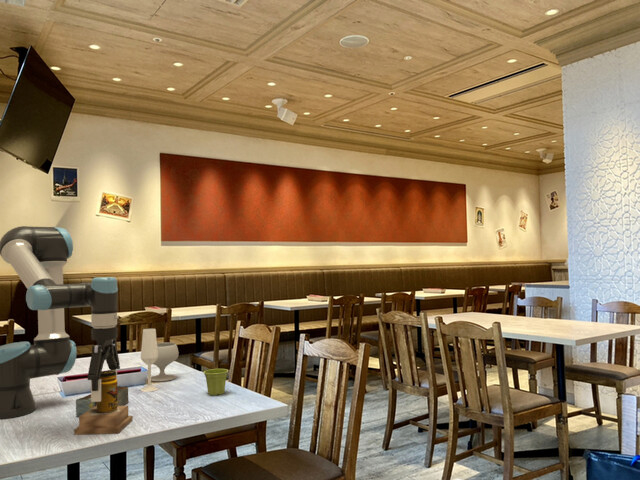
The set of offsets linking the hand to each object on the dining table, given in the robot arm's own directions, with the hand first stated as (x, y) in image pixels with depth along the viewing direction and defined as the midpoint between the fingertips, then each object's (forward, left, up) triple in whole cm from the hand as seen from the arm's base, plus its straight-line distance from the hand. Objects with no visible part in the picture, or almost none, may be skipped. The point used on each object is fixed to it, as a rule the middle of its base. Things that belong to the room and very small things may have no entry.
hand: (104, 395), depth 165 cm
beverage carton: (-8, +20, -10) cm, 24 cm away
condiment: (0, 0, -5) cm, 5 cm away
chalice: (0, +67, -10) cm, 68 cm away
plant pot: (+28, +39, -10) cm, 49 cm away
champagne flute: (0, +48, -10) cm, 49 cm away
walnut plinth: (0, 0, -10) cm, 10 cm away
